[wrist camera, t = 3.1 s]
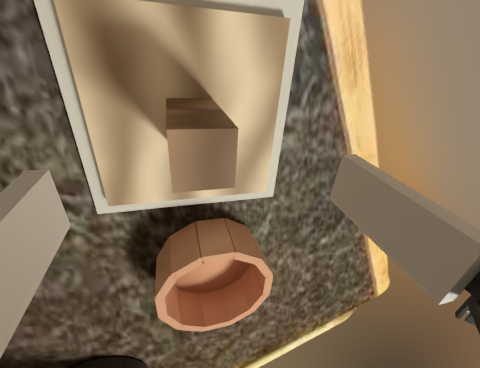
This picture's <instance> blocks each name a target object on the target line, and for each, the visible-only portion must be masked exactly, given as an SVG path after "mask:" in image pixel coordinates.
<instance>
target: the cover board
mask: <svg viewBox="0 0 480 368" xmlns="http://www.w3.org/2000/svg"><path fill="white" fill-rule="evenodd" d="M54 3H55V7H56V11H57V15H58V18H59V22H60V26H61V30H62V33H63V37H64V41H65V45H66V49H67V52H68V56H69V60H70V64H71V67H72V71H73V75H74V79H75V82H76V86H77V90H78V94H79V98H80V101H81V105H82V109H83V113H84V116H85V120H86V124H87V128H88V132H89V135H90V139H91V143H92V147H93V150H94V154H95V158H96V162H97V165H98V169H99V173H100V177H101V181H102V184H103V188H104V192H105V196H106V199H107V203H108V206H118V205H129V204H139V203H150V202H161V201H171V200H182V199H193V198H204V197H214V196H225V195H236V194H247V193H257V192H266V190H267V182H268V175H269V168H270V161H271V154H272V147H273V140H274V133H275V125H276V118H277V111H278V104H279V97H280V90H281V83H282V76H283V68H284V61H285V54H286V47H287V40H288V33H289V26H290V19H291V18H284V17H276V16H267V15H259V14H250V13H242V12H233V11H225V10H216V9H208V8H199V7H191V6H182V5H174V4H165V3H157V2H148V1H140V0H54Z"/></svg>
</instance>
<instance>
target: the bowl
mask: <svg viewBox="0 0 480 368" xmlns="http://www.w3.org/2000/svg"><path fill="white" fill-rule="evenodd" d="M272 279H273V274H272V271H271V269H270V267H269V265H268V263H267V261H266V259H265V256H264V254H263V252H262V250H261V248H260V246H259V244H258V241H257V240H256V238H255V237H254V235H253V234H252V232H251V231H250V229H249V228H248V226H246V225H243V224H240V223H237V222H235V221H232V220H229V219H226V218H219V219H210V220H202V221H196V223H195V222H193V223H191V224H189V225H188V226H186V227H184V228H183V229H181V230H179V231H177V232H176V233H174V234H172V235H170V237H169V238H168V239H167V241H166V242H165V244H164V246H163V247H162V249H161V250H160V252H159V254H158V255H157V260H156V283H155V302H156V307H157V313H158V318H159V319H161V320H162V321H164V322H165V323H167V324H169V325H170V326H172V327H173V328H175V329H178V330H188V331H201V332H203V331H208V330H212V329H216V328H220V327H224V326H228V325H231V324H233V323H235V322H237V321H238V320H240V319H242V318H244V317H245V316H247V315H249V314H251V313H253V311H255V310H256V309H257V308H258V307H259V305H260V304H261V303H262V302H263V301H264V300H265V299H266V298H267V296H268V295H269V294H270V289H271V284H272Z"/></svg>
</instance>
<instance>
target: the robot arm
mask: <svg viewBox="0 0 480 368" xmlns="http://www.w3.org/2000/svg"><path fill="white" fill-rule="evenodd" d="M329 199H330V200H331V201H332V202H333V203H334V204H335V205H336V206H337V207H338V208H339V209H340V210H341V211H342V212H343V213H345V214H346V215H347V216H348V217H349V218H350V219H351V220H352V221H353V222H354V223H355V224H356V225H357V226H358V227H359V228H360V229H361V230H362V231H363V232H364V233H365V234H366V235H367V236H368V237H369V238H370V239H371V240H372V241H373V242H374V243H375V244H376V245H377V246H378V247H379V248H380V249H381V250H382V251H383V252H385V253H386V254H387V255H388V256H389V257H390V258H391V259H392V260H393V261H394V262H395V263H396V264H397V265H398V266H399V267H400V268H401V269H402V270H403V271H404V272H405V273H406V274H407V275H408V276H409V277H410V278H411V279H412V280H413V281H414V282H415V283H416V284H417V285H418V286H419V287H420V288H421V289H423V291H425V292H426V293H427V294H428V295H429V296H430V297H431V298H432V299H433V300H434V301H435V302H436V303H437V304H438V305H440V304H443V303H447V302H451V301H454V300H455V299H456V298H457V297H458V296H459V295H460V294H461V292H462V291H463V290H464V289H465V290H466V291H468V292H469V293H470V294H471V296H470V297H469V298H468V299H467V300H466V301H465V303H464V304H463V305H462V306H461V307H460V308H459V309H458V310H457V311H456V313H455V315H456V318H458V319H460V318H461V317H462V316H463V315H464V314H465V313H466V312H469V313H470V314H469V315H468V316H467V317H466V319H465V321H466V322H468V323H471V324H474V325H476V327H477V329H478V331H479V333H480V229H478V228H477V227H475V226H473V225H472V224H470V223H468V222H467V221H465V220H463V219H462V218H460V217H458V216H457V215H455V214H453V213H452V212H450V211H448V210H447V209H445V208H443V207H442V206H440V205H438V204H437V203H435V202H433V201H431V200H430V199H428V198H427V197H425V196H423V195H422V194H420V193H419V192H417V191H415V190H414V189H412V188H410V187H409V186H407V185H405V184H403V183H402V182H400V181H398V180H397V179H395V178H394V177H392V176H390V175H389V174H387V173H385V172H384V171H382V170H380V169H379V168H377V167H375V166H374V165H372V164H370V163H369V162H367V161H365V160H364V159H362V158H361V157H359V156H357V155H356V154H353V155H343V157H342V160H341V163H340V166H339V169H338V173H337V176H336V179H335V182H334V185H333V189H332V192H331V195H330V198H329ZM70 226H71V225H70V223H69V220H68V218H67V215H66V213H65V210H64V208H63V205H62V202H61V200H60V197H59V195H58V192H57V190H56V187H55V185H54V182H53V179H52V177H51V174H50V172H49V170H34V171H24V172H23V173H22V174H21V175H20V176H18V177H17V178H16V179H15V180H14V181H13V182H12V183H11V184H10V185H9V186H7V187H6V188H5V189H4V190H3V191H2V192H1V193H0V358H1V356H2V354H3V352H4V351H5V349H6V347H7V345H8V343H9V341H10V339H11V337H12V335H13V334H14V332H15V330H16V328H17V326H18V324H19V322H20V320H21V318H22V317H23V315H24V313H25V311H26V309H27V307H28V305H29V303H30V301H31V299H32V298H33V296H34V294H35V292H36V290H37V288H38V286H39V284H40V282H41V281H42V279H43V277H44V275H45V273H46V271H47V269H48V267H49V265H50V264H51V262H52V260H53V258H54V256H55V254H56V252H57V250H58V248H59V246H60V245H61V243H62V241H63V239H64V237H65V235H66V233H67V231H68V229H69V228H70ZM71 368H148V367H147V366H146V365H145V364H144V363H143V362H141V361H139V360H136V359H133V358H127V357H108V358H100V359H95V360H91V361H87V362H84V363H81V364H78V365H76V366H73V367H71Z"/></svg>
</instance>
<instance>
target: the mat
mask: <svg viewBox="0 0 480 368" xmlns="http://www.w3.org/2000/svg"><path fill="white" fill-rule="evenodd" d="M140 1H148V2H157V3H165V4H174V5H182V6H191V7H199V8H208V9H216V10H225V11H233V12H242V13H250V14H259V15H267V16H276V17H284V18H291V19H290V26H289V33H288V40H287V47H286V54H285V61H284V68H283V76H282V83H281V90H280V97H279V104H278V111H277V118H276V125H275V133H274V140H273V147H272V154H271V161H270V168H269V175H268V182H267V190H266V192H257V193H247V194H236V195H225V196H214V197H204V198H193V199H182V200H171V201H161V202H150V203H139V204H129V205H118V206H108V203H107V199H106V196H105V192H104V188H103V184H102V181H101V177H100V173H99V169H98V165H97V162H96V158H95V154H94V150H93V147H92V143H91V139H90V135H89V132H88V128H87V124H86V120H85V116H84V113H83V109H82V105H81V101H80V98H79V94H78V90H77V86H76V82H75V79H74V75H73V71H72V67H71V64H70V60H69V56H68V52H67V49H66V45H65V41H64V37H63V33H62V30H61V26H60V22H59V18H58V15H57V11H56V7H55V3H54V0H34V3H35V6H36V10H37V13H38V16H39V20H40V23H41V26H42V30H43V33H44V36H45V40H46V43H47V46H48V50H49V53H50V57H51V60H52V63H53V67H54V70H55V73H56V77H57V80H58V83H59V87H60V90H61V93H62V97H63V100H64V103H65V107H66V110H67V113H68V117H69V120H70V123H71V127H72V130H73V133H74V137H75V140H76V144H77V147H78V150H79V154H80V157H81V160H82V164H83V167H84V170H85V174H86V177H87V180H88V184H89V187H90V190H91V194H92V197H93V200H94V204H95V207H96V210H97V214H103V213H113V212H123V211H133V210H143V209H153V208H163V207H173V206H183V205H193V204H203V203H213V202H223V201H233V200H243V199H253V198H263V197H273V193H274V187H275V181H276V174H277V168H278V162H279V155H280V149H281V143H282V137H283V130H284V124H285V118H286V112H287V105H288V99H289V93H290V86H291V80H292V74H293V68H294V61H295V55H296V49H297V42H298V36H299V30H300V24H301V17H302V11H303V5H304V0H140Z"/></svg>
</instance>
